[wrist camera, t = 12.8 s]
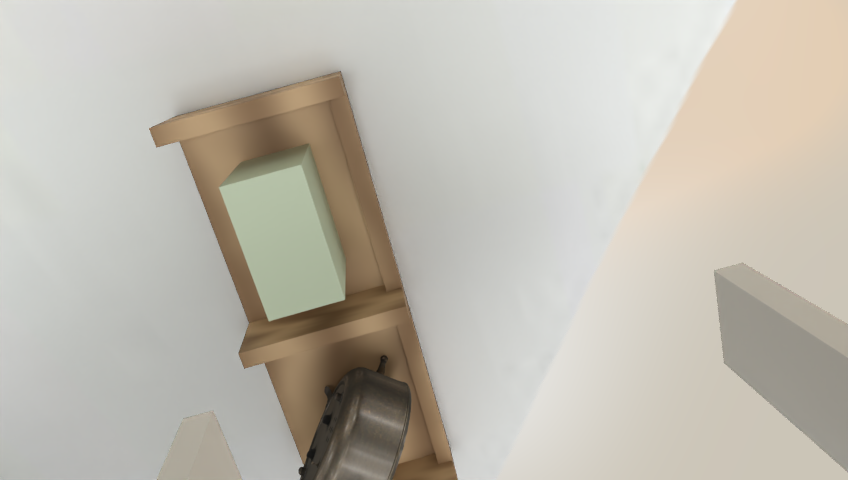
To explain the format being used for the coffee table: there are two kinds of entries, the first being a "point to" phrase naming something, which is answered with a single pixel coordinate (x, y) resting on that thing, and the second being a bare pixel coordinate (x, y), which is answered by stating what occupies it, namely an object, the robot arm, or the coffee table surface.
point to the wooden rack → (363, 247)
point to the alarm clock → (360, 428)
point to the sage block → (286, 231)
